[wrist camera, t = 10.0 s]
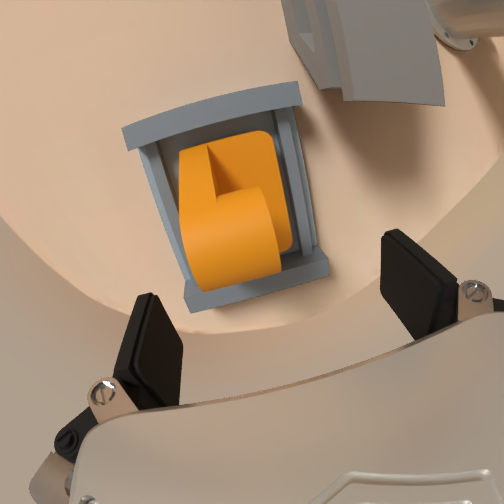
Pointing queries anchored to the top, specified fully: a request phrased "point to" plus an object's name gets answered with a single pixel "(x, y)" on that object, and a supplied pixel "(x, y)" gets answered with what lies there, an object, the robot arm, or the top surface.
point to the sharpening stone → (368, 48)
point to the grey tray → (220, 126)
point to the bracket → (232, 210)
